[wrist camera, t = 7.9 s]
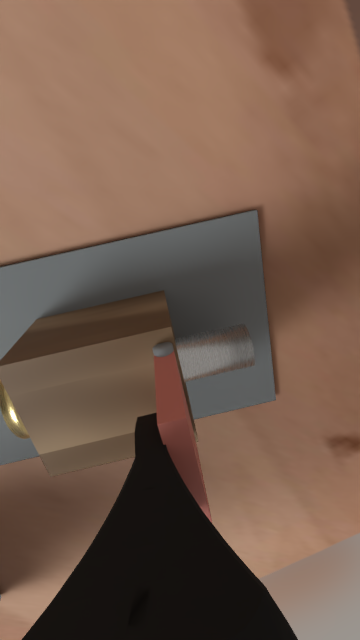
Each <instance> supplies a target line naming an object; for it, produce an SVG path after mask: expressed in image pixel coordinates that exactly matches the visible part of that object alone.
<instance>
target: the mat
mask: <svg viewBox="0 0 360 640" xmlns="http://www.w3.org/2000/svg"><path fill="white" fill-rule="evenodd" d="M162 290H164V292H165V297H166V301H167V305H168V309H169V314H170V318H171V322H172V326H173V331H174V335H175V339H177V338H181V337H186V336H190V335H194V334H199V333H203V332H207V331H212V330H216V329H220V328H225V327H229V326H233V325H238V324H242V323H243V324H244V325H245V326H246V328H247V329H248V332H249V334H250V337H251V340H252V344H253V348H254V354H255V365H254V366H251V367H247V368H243V369H238V370H234V371H230V372H226V373H221V374H217V375H213V376H209V377H204V378H200V379H196V380H191V381H187V382H186V387H187V391H188V396H189V400H190V405H191V410H192V414H193V419H198V418H202V417H206V416H211V415H215V414H219V413H223V412H228V411H232V410H236V409H240V408H244V407H249V406H253V405H257V404H261V403H266V402H270V401H274V400H276V396H275V386H274V376H273V366H272V356H271V345H270V335H269V325H268V315H267V305H266V295H265V285H264V274H263V264H262V254H261V244H260V234H259V224H258V214H257V210H252V211H247V212H243V213H238V214H234V215H229V216H225V217H220V218H216V219H211V220H207V221H203V222H198V223H194V224H189V225H185V226H180V227H176V228H171V229H167V230H162V231H158V232H154V233H149V234H145V235H140V236H136V237H131V238H127V239H122V240H118V241H113V242H109V243H105V244H100V245H96V246H91V247H87V248H82V249H78V250H73V251H69V252H64V253H60V254H56V255H51V256H47V257H42V258H38V259H33V260H29V261H24V262H20V263H15V264H11V265H7V266H2V267H0V360H1V359H2V358H3V357H4V356H5V354H6V353H7V352H8V351H9V350H10V349H11V348H12V346H13V345H14V344H15V343H16V342H17V341H18V340H19V338H20V337H21V336H22V335H23V334H24V333H25V332H26V331H27V329H28V328H29V327H30V326H31V325H32V324H33V323H34V321H35V320H36V319H40V318H44V317H48V316H53V315H57V314H62V313H66V312H70V311H75V310H79V309H84V308H88V307H92V306H97V305H101V304H105V303H110V302H114V301H119V300H123V299H127V298H132V297H136V296H140V295H145V294H149V293H154V292H158V291H162ZM38 456H40V455H39V454H38V452H37V450H36V448H35V446H34V444H33V442H32V440H31V438H27V439H22V438H19V437H17V436H16V435H14V434H13V433H12V432H11V430H10V429H9V428H8V426H7V424H6V422H5V420H4V418H3V415H2V412H1V408H0V465H4V464H8V463H12V462H16V461H21V460H25V459H29V458H33V457H38Z"/></svg>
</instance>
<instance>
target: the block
mask: <svg viewBox="0 0 360 640" xmlns="http://www.w3.org/2000/svg"><path fill="white" fill-rule="evenodd" d="M164 342H170V343H172V344H173V348H174V352H175V357H176V361H177V365H178V369H179V373H180V377H181V381H182V386H183V390H184V394H185V398H186V402H187V406H188V411H189V415H190V419H191V423H192V427H193V431H194V436H195V441H196V442H198V438H197V433H196V428H195V424H194V419H193V414H192V410H191V405H190V400H189V396H188V391H187V387H186V382H184V377H183V373H182V369H181V365H180V360H179V356H178V352H177V348H176V343H175V335H174V331H173V326H172V322H171V318H170V314H169V309H168V305H167V301H166V297H165V292H164V290H162V291H158V292H154V293H149V294H145V295H140V296H136V297H132V298H127V299H123V300H119V301H114V302H110V303H105V304H101V305H97V306H92V307H88V308H84V309H79V310H75V311H70V312H66V313H62V314H57V315H53V316H48V317H44V318H40V319H36V320H35V321H34V323H33V324H32V325H31V326H30V327H29V328H28V329H27V331H26V332H25V333H24V334H23V335H22V336H21V337H20V338H19V340H18V341H17V342H16V343H15V344H14V345H13V346H12V348H11V349H10V350H9V351H8V352H7V353H6V354H5V356H4V357H3V358H2V359H1V360H0V380H1V382H2V384H3V386H4V388H5V390H6V392H7V394H8V396H9V397H10V399H11V401H12V403H13V405H14V407H15V409H16V411H17V413H18V415H19V417H20V419H21V421H22V423H23V425H24V426H25V428H26V430H27V432H28V434H29V436H30V438H31V440H32V442H33V444H34V446H35V448H36V450H37V452H38V454H39V455H40V457H41V459H42V461H43V463H44V465H45V467H46V469H47V471H48V473H49V475H50V477H52V476H56V475H61V474H65V473H69V472H73V471H77V470H82V469H86V468H90V467H94V466H98V465H103V464H107V463H111V462H115V461H119V460H124V459H128V458H132V457H135V426H136V421H137V417H140V416H144V415H148V414H152V413H157V410H156V390H155V371H154V353H153V350H152V349H153V347H154V346H155V345H157V344H160V343H164Z"/></svg>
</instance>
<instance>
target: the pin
mask: <svg viewBox="0 0 360 640" xmlns="http://www.w3.org/2000/svg"><path fill="white" fill-rule="evenodd" d="M175 343H176V348H177V352H178V356H179V360H180V365H181V369H182V373H183V377H184V382H187V381H191V380H196V379H200V378H204V377H209V376H213V375H217V374H221V373H226V372H230V371H234V370H238V369H243V368H247V367H251V366H254V365H255V354H254V348H253V344H252V340H251V337H250V334H249V332H248V329H247V328H246V326H245V325H244V324H243V323H242V324H238V325H233V326H229V327H225V328H220V329H216V330H212V331H207V332H203V333H199V334H194V335H190V336H186V337H181V338H177V339H175ZM0 408H1V412H2V415H3V418H4V420H5V422H6V424H7V426H8V428H9V429H10V430H11V432H12V433H13V434H14V435H16V436H17V437H19V438H22V439H27V438H30V436H29V434H28V432H27V430H26V428H25V426H24V425H23V423H22V421H21V419H20V417H19V415H18V413H17V411H16V409H15V407H14V405H13V403H12V401H11V399H10V397H9V396H8V394H7V392H6V390H5V388H4V386H3V384H2V382H1V380H0Z"/></svg>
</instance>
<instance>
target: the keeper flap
mask: <svg viewBox="0 0 360 640" xmlns="http://www.w3.org/2000/svg"><path fill="white" fill-rule="evenodd" d="M152 350H153V353H154V371H155V390H156V410H157V425H158V429H159V432H160V435H161V439H162V442H163V445H165V444H166V446H167V449H168V452H169V454H170V457H171V459H172V461H173V463H174V465H175V467H176V468H177V470H178V472H179V474H180V476H181V478H182V479H183V481H184V483H185V484H186V486H187V488H188V489H189V491H190V493H191V494H192V496H193V497H194V499H195V500H196V502H197V503H198V505H199V506H200V508H201V509H202V511H203V512H204V513H205V515H206V516H207V518H208V519H209V520H210V522H211V523H212V519H211V514H210V509H209V505H208V500H207V495H206V490H205V485H204V480H203V475H202V470H201V465H200V460H199V455H198V450H197V446H196V441H195V436H194V431H193V427H192V423H191V419H190V415H189V411H188V406H187V402H186V398H185V394H184V390H183V386H182V381H181V377H180V373H179V369H178V365H177V361H176V357H175V352H174V348H173V344H172V343H170V342H164V343H160V344H157V345H155V346H154V347H153V349H152Z"/></svg>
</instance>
